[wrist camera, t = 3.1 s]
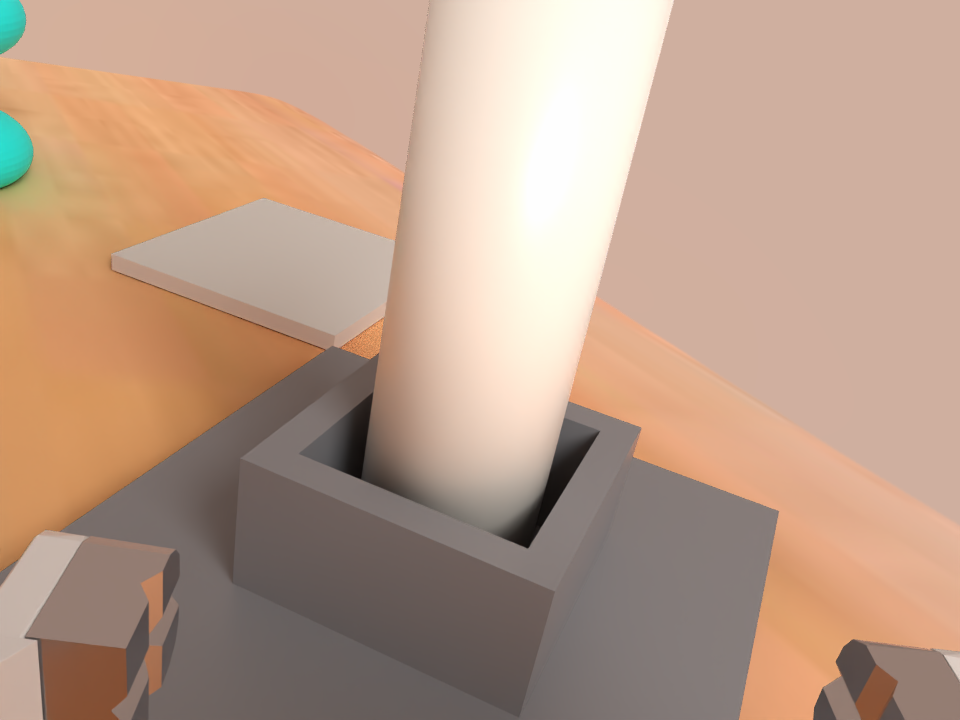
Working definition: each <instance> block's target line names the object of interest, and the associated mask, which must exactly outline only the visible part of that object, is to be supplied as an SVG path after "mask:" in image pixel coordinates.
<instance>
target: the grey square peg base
mask: <svg viewBox="0 0 960 720" xmlns="http://www.w3.org/2000/svg"><path fill="white" fill-rule="evenodd" d="M378 358H379V353H378V354H377V355H376V356H374V357H373V358H372V359H367V358H364V357H361V356H359V355H356V354H353V353H351V352H348V351H345V350H343V349H340V348H337V347H334V346H331V347H330V348H328V349H327V350H325V351H324V352H322V353H321V354H319V355H318V356H316V357H315V358H313V359H312V360H311V361H309V362H308V363H306V364H305V365H303V366H302V367H300V368H299V369H297V370H296V371H294V372H293V373H291V374H290V375H289V376H287V377H286V378H284V379H283V380H281V381H280V382H278V383H277V384H275V385H274V386H272V387H271V388H269V389H268V390H267V391H265V392H264V393H262V394H261V395H259V396H258V397H256V398H255V399H253V400H252V401H250V402H249V403H247V404H246V405H245V406H243V407H242V408H240V409H239V410H237V411H236V412H234V413H233V414H231V415H230V416H228V417H227V418H225V419H224V420H223V421H221V422H220V423H218V424H217V425H215V426H214V427H212V428H211V429H209V430H208V431H206V432H205V433H203V434H202V435H201V436H199V437H198V438H196V439H195V440H193V441H192V442H190V443H189V444H187V445H186V446H184V447H183V448H181V449H180V450H179V451H177V452H176V453H174V454H173V455H171V456H170V457H168V458H167V459H165V460H164V461H162V462H161V463H159V464H158V465H157V466H155V467H154V468H152V469H151V470H149V471H148V472H146V473H145V474H143V475H142V476H140V477H139V478H137V479H136V480H135V481H133V482H132V483H130V484H129V485H127V486H126V487H124V488H123V489H121V490H120V491H118V492H117V493H115V494H114V495H113V496H111V497H110V498H108V499H107V500H105V501H104V502H102V503H101V504H99V505H98V506H96V507H95V508H93V509H92V510H91V511H89V512H88V513H86V514H85V515H83V516H82V517H80V518H79V519H77V520H76V521H74V522H73V523H71V524H70V525H69V526H67V527H66V528H64V529H63V530H61V531H60V532H63V533H69V534H76V535H82V536H87V537H90V536H94V537H101V538H107V539H114V540H120V541H126V542H133V543H139V544H146V545H152V546H158V547H165V548H171V549H176V550H177V551H178V553H179V554H180V577H179V579H178V581H177V584H176V586H175V588H174V591H173V593H172V595H171V596H172V597H173V598H174V599H175V601H176V602H177V603H178V604H179V620H178V628H177V636H176V642H175V646H174V650H173V653H172V657H171V661H170V665H169V668H168V671H167V673H166V676H165V679H164V681H163V684H162V686H161V687H160V688H159V689H158V690H156V691H155V692H153V693H152V694H150V695H149V712H148V720H739V715H740V710H741V705H742V700H743V695H744V689H745V684H746V679H747V674H748V669H749V664H750V658H751V653H752V648H753V643H754V638H755V632H756V627H757V622H758V617H759V612H760V606H761V601H762V596H763V591H764V586H765V581H766V575H767V570H768V565H769V560H770V555H771V549H772V544H773V539H774V534H775V529H776V524H777V518H778V513H779V511H777V510H774V509H771V508H769V507H766V506H763V505H761V504H758V503H755V502H753V501H750V500H747V499H744V498H742V497H739V496H736V495H734V494H731V493H728V492H726V491H723V490H720V489H718V488H715V487H712V486H709V485H707V484H704V483H701V482H699V481H696V480H693V479H691V478H688V477H685V476H682V475H680V474H677V473H674V472H672V471H669V470H666V469H664V468H661V467H658V466H655V465H653V464H650V463H647V462H645V461H642V460H639V459H637V458H634V457H633V454H634V451H635V447H636V444H637V441H638V438H639V434H640V431H641V427H638V426H635V425H632V424H630V423H627V422H624V421H621V420H619V419H616V418H613V417H610V416H607V415H605V414H602V413H599V412H596V411H594V410H591V409H588V408H585V407H582V406H580V405H577V404H574V403H571V402H569V401H568V405H567V408H566V412H565V416H564V420H563V424H562V427H561V431H560V435H559V439H558V443H557V446H556V450H555V454H554V458H553V462H552V465H551V469H550V473H549V477H548V481H547V484H546V488H545V492H544V496H543V500H542V503H541V507H540V511H539V515H538V519H537V522H536V526H535V530H534V534H533V538H532V541H531V545H530V547H529V548H528V549H527V548H525V547H523V546H520V545H518V544H515V543H513V542H510V541H508V540H506V539H503V538H501V537H498V536H496V535H493V534H491V533H489V532H486V531H484V530H481V529H479V528H477V527H474V526H472V525H469V524H467V523H464V522H462V521H460V520H457V519H455V518H452V517H450V516H448V515H445V514H443V513H440V512H438V511H435V510H433V509H431V508H428V507H426V506H423V505H421V504H418V503H416V502H414V501H411V500H409V499H406V498H404V497H402V496H399V495H397V494H394V493H392V492H389V491H387V490H385V489H382V488H380V487H377V486H375V485H373V484H370V483H368V482H365V481H363V480H361V477H362V470H363V463H364V456H365V449H366V442H367V435H368V428H369V421H370V414H371V407H372V400H373V393H374V386H375V379H376V372H377V365H378ZM17 562H18V560H17V561H16V562H14V563H13V564H11V565H10V566H8V567H7V568H5V569H4V570H3V571H1V572H0V586H1V585H2V583H3V582H4V580H5V579H6V578H7V576H8V575H9V573H10V572H11V570H12V569H13V567H14V566H15V565H16V563H17Z"/></svg>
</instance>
